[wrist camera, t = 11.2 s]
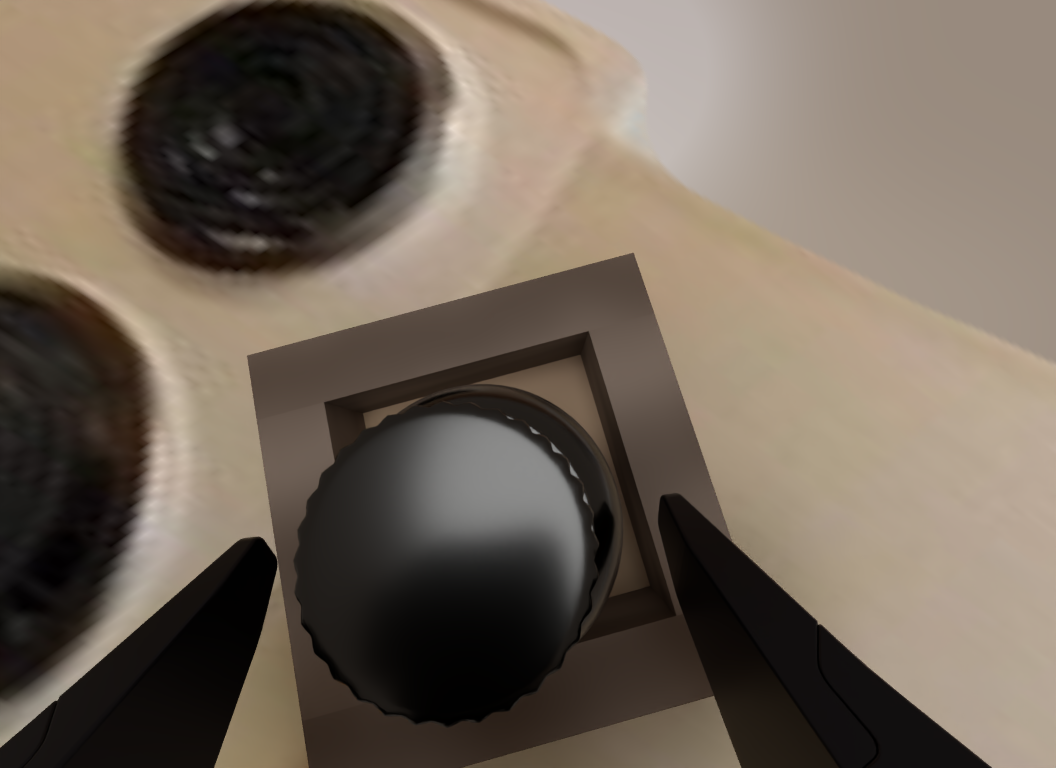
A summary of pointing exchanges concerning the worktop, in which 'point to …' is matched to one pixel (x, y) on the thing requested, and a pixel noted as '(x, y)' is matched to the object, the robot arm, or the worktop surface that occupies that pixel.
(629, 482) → the grey-brown square frame
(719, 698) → the robot arm
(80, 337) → the worktop surface
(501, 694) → the supplement bottle
